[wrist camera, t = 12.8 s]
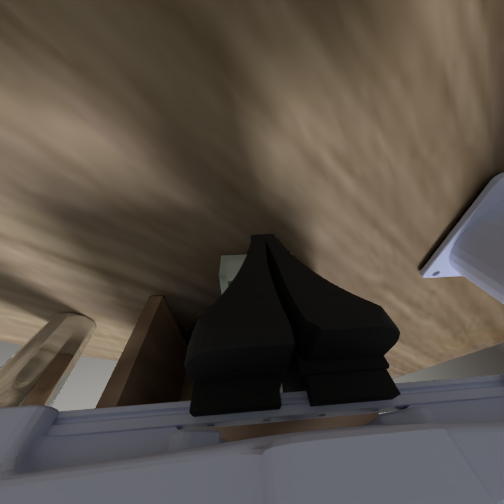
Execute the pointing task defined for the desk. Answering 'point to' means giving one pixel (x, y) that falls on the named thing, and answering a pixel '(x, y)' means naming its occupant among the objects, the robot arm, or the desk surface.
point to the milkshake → (45, 361)
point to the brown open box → (183, 377)
